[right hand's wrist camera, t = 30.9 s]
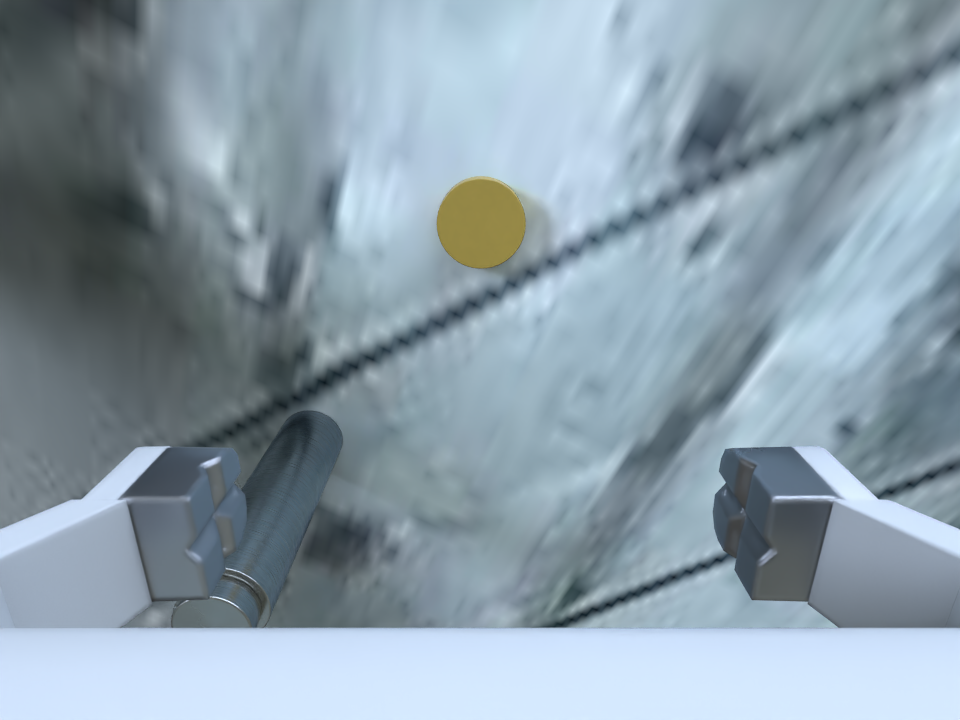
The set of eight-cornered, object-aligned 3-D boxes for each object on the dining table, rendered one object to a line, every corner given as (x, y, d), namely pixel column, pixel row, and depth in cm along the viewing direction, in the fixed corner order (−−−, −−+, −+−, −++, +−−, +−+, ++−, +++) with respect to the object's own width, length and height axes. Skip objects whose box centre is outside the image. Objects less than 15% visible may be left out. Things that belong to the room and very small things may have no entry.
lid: (479, 279, 38) (479, 286, 36) (420, 218, 36) (418, 223, 35) (541, 222, 36) (543, 226, 35) (482, 157, 35) (482, 158, 33)
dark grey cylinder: (279, 408, 41) (155, 587, 25) (341, 412, 41) (256, 592, 25) (283, 462, 42) (168, 662, 27) (343, 465, 42) (264, 667, 27)
